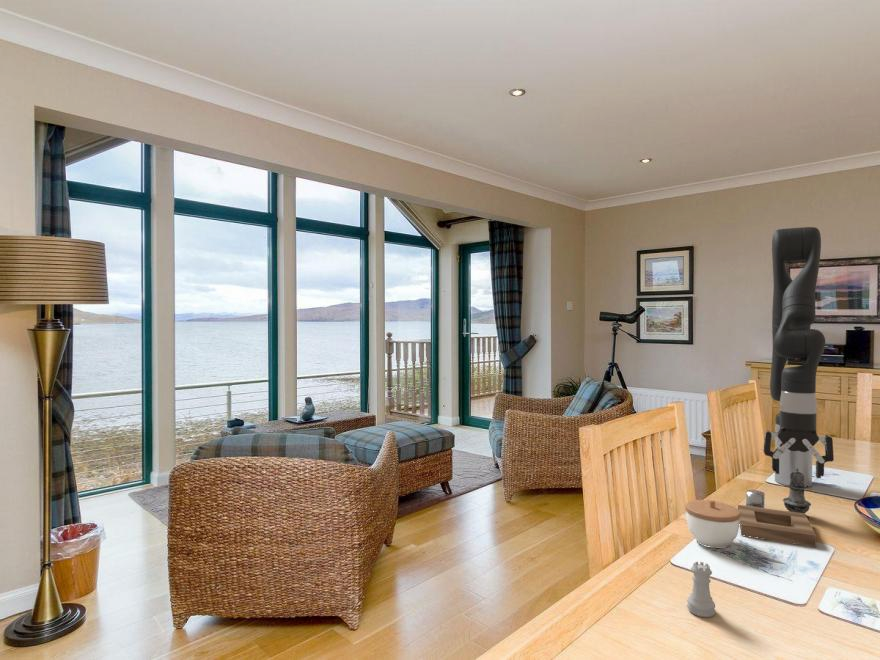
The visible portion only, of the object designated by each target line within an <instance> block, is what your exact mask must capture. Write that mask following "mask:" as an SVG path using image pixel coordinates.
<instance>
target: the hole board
mask: <svg viewBox="0 0 880 660" xmlns="http://www.w3.org/2000/svg"><path fill="white" fill-rule="evenodd" d="M737 509H738V510H739V511H740V521H739V524H740V525H739V531H740V530H741V531H740V536H741V535H745V536H744V537H748V536H751V537H750V538H754V537H758V538H757V539H761V538H764V539H763V540H767V539H768V541H773V540H774V542H781V543H786V542H787V544H793V543H795V545H799V544H801V545H800V546H806V545H807V547H812V546H815V547H814V548H816V545H817V544H816V543H817V540H816V539H817V536H816V534H815V530H814V529H813V527H812V525H811V523H810V521H809V520H808V519H807V517H806V515H807V514H806V513H797V512H789V510H782V509H781V510H779V509H772V508H766V507H764V508H759V507H752V506H746V505H744V504H743V505H742V504H737ZM805 514H806V515H805Z"/></svg>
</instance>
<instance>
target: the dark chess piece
mask: <svg viewBox="0 0 880 660" xmlns="http://www.w3.org/2000/svg"><path fill="white" fill-rule="evenodd" d="M787 487H789V495H788V497H784V498H783V499H782V501H783V504H784V507H785V509H786V510H787V511H789V512H797V513H805V515H806V517H807V519H808V521H809V519H810V516H808V515H807V514H806V513H807V512H808V511H809V510H810V507H811V506H812V504H811V502H809V501H808V500H806V497H805V490H806V488H807V487H804V475H803V474H802V473H800V472H798V468H797V469H796V471H795V472H792V473H791V474H790V485H787Z"/></svg>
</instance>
